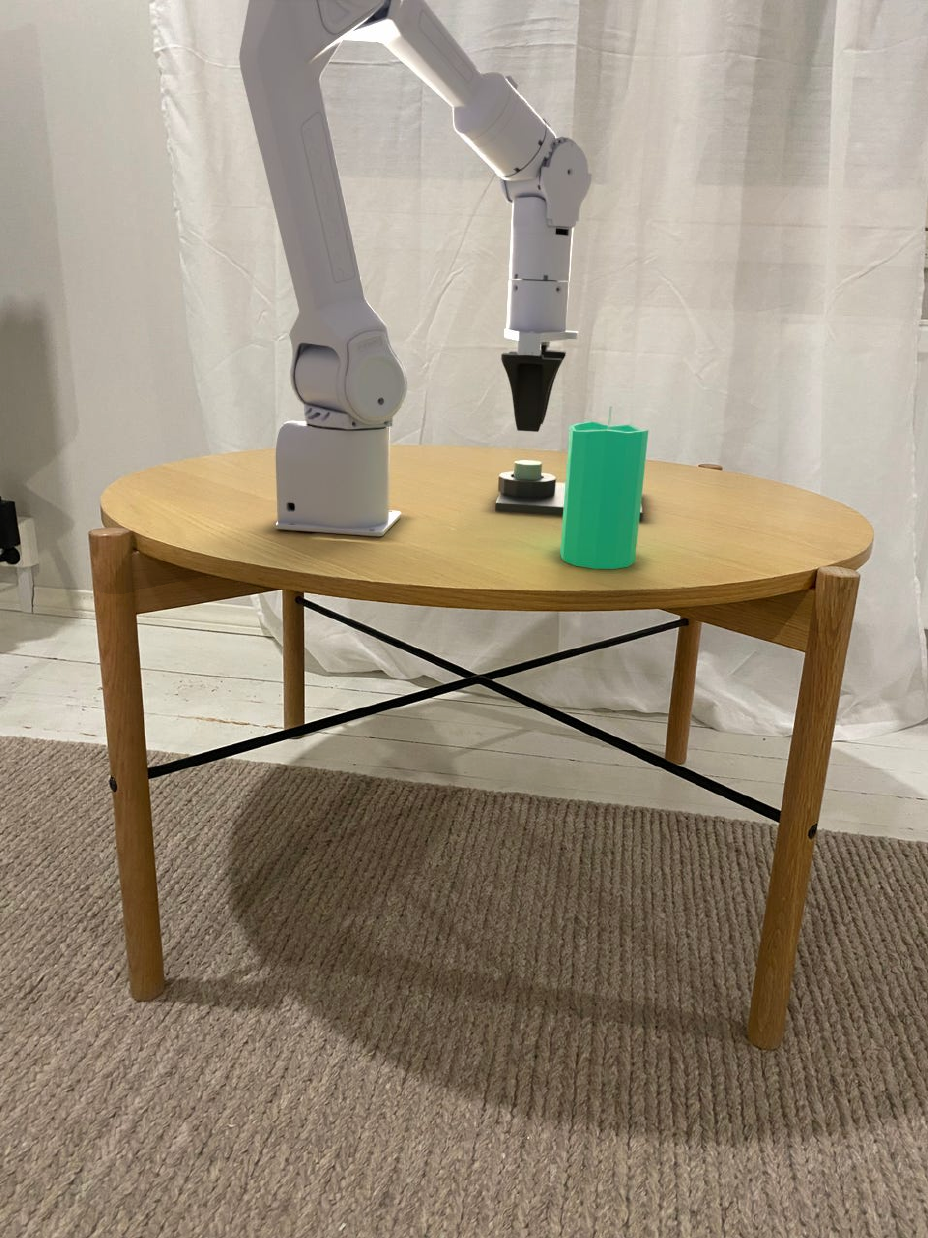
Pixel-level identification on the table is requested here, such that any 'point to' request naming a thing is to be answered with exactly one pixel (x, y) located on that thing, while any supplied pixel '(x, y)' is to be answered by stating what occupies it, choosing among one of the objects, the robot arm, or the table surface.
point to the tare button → (527, 469)
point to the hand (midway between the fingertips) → (530, 427)
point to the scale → (532, 495)
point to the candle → (603, 494)
